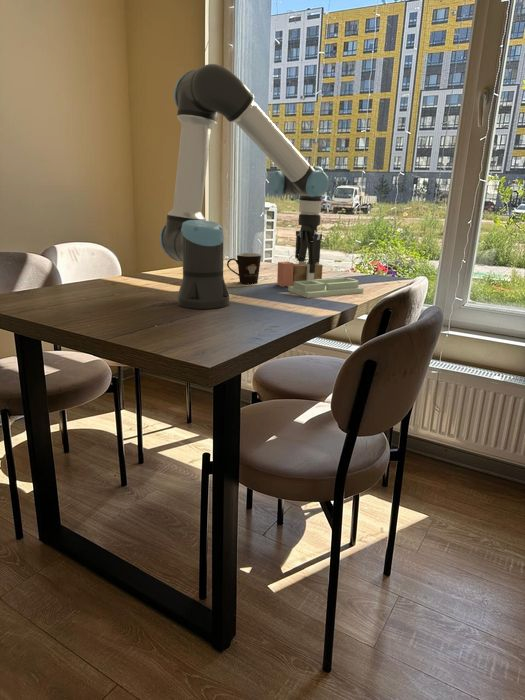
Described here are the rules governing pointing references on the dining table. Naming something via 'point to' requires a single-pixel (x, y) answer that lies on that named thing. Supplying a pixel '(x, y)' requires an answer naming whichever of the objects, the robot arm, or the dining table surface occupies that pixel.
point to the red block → (285, 274)
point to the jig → (325, 287)
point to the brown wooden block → (301, 272)
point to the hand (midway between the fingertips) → (305, 280)
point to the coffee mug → (247, 267)
